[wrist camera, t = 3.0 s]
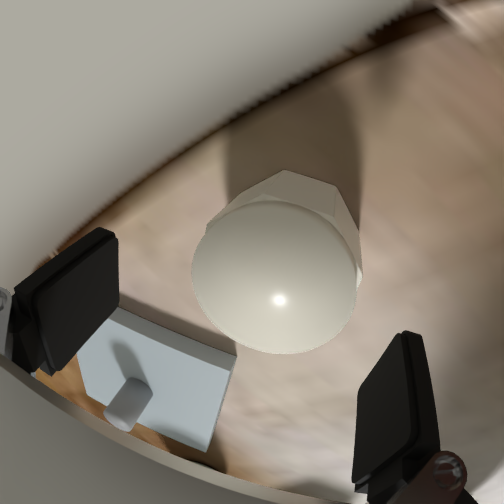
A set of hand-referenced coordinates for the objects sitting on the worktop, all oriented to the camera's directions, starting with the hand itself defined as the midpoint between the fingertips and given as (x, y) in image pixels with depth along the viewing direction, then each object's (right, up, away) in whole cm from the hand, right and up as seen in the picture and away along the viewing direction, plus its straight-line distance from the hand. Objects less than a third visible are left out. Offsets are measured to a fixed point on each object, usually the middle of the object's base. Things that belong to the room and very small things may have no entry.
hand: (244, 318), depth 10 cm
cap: (+2, +3, +7) cm, 8 cm away
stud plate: (-9, -9, +16) cm, 21 cm away
